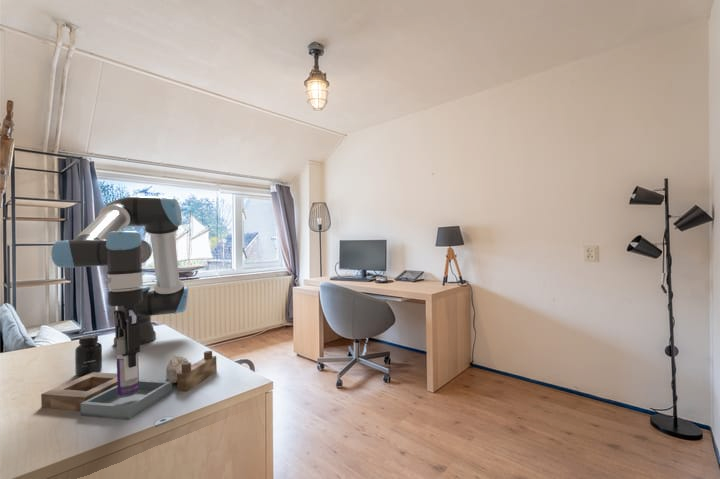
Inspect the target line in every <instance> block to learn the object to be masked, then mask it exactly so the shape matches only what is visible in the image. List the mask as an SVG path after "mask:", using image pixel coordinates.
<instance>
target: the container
mask: <svg viewBox="0 0 720 479" xmlns="http://www.w3.org/2000/svg"><path fill="white" fill-rule="evenodd" d="M125 353H126V352H125V342H124V336H123V337H119V338H117V346H116V373H117V384H118V397H121V398H123V397H129V396H132V395H135V394H137V393H138V392H139V380H140V376H139V375H140V372H139V371H140V370H139V364H138V377H137V378H133V379H130V380H127V381H125V367H124V357H123V356H122V354H125ZM137 362H138V363H139V352H138V353H137Z"/></svg>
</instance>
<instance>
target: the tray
mask: <svg viewBox="0 0 720 479" xmlns="http://www.w3.org/2000/svg"><path fill="white" fill-rule="evenodd" d="M172 384H173V383H172V382H169V380H167V381H165V380H151V379H148V380H147V379H139V392H138V393H137V394H135V395H132V396H129V397H123V398H121V397H118V385H117V386H115V387H113V388H111V389H109V390H107V391H105V392H103V393H101V394H99V395H97V396H95V397H93V398H91V399H89V400H87V401H85V402H83V403H81V404H80V405H81V410H80V416H83V417H93V418H94V417H95V418H105V419H117V420H118V419H119V420H130V419H132V418H134V417H135V416H137V415H138V414H140V413H142V412H143V411H144V410H146V409H147V408H149V407H151V406H152V405H154V404H155V403H157V402H158V401H160V400H162V399H163V398H165V397H166V396H168V395H170V394H171V393H173V392H172V391H173V389H172V388H173V387H172V386H173V385H172Z"/></svg>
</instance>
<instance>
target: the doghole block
mask: <svg viewBox="0 0 720 479" xmlns="http://www.w3.org/2000/svg"><path fill="white" fill-rule="evenodd" d="M117 385H118V384H117V372H115V373H113V372H101V371H99V372H92V373H90V374H88V375H85V376H79V377H78V378H75V379H73V380H72V381H69V382H66V383H65V384H62V385H61V384H60V386H57V387H55V388H53V389H50V390H48V391H45V392H42V393H41V394H40V395H41V396H40V398H41V400H40V401H41V403H40V404H41V408H46V409H47V408H48V409H49V408H50V409H61V410H71V411H72V410H73V411H81V405H80V404H81V403H83V402H85V401H87V400H89V399H91V398H93V397H95V396H97V395H99V394H101V393H103V392H105V391H107V390H109V389H111V388H113V387H115V386H117Z"/></svg>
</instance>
